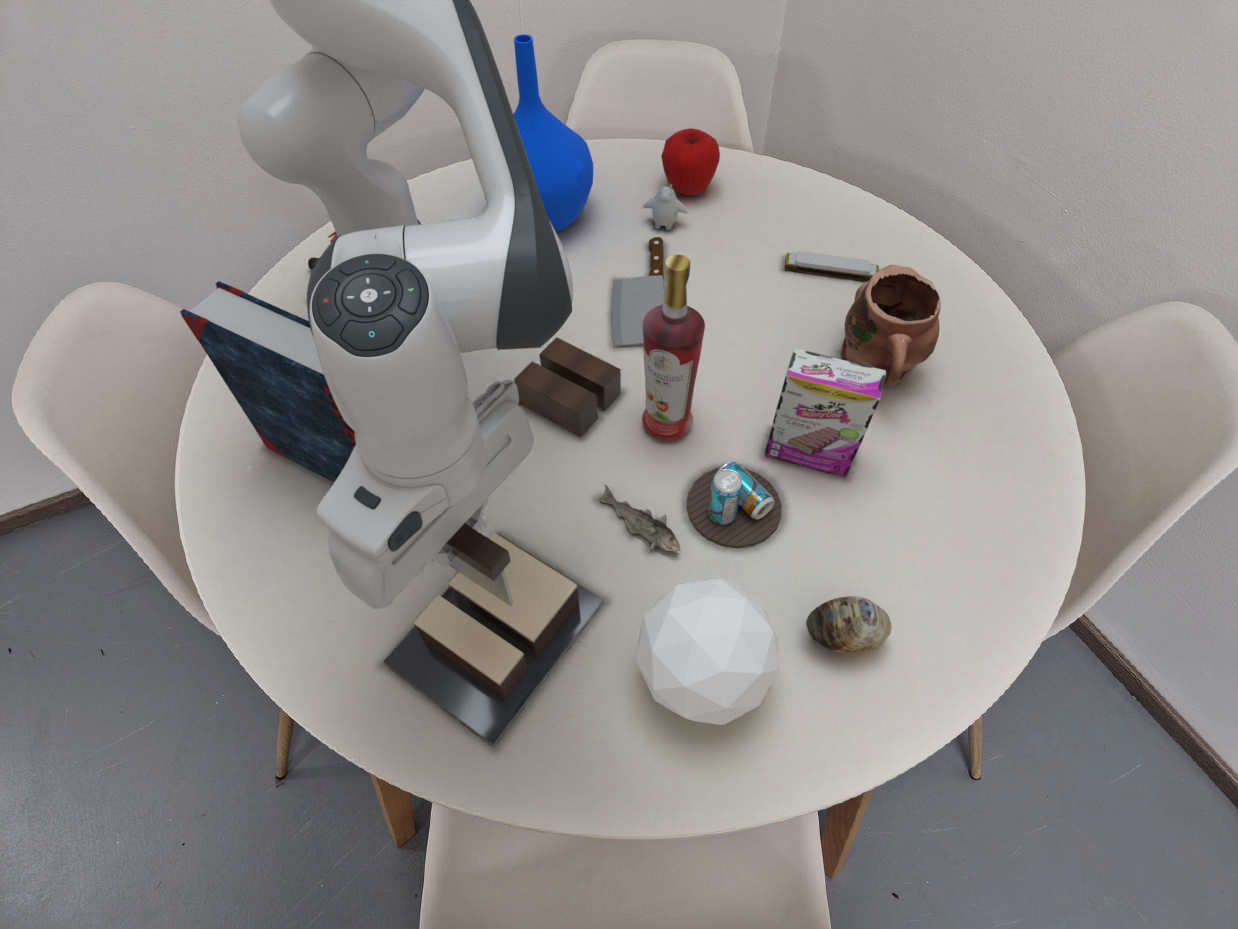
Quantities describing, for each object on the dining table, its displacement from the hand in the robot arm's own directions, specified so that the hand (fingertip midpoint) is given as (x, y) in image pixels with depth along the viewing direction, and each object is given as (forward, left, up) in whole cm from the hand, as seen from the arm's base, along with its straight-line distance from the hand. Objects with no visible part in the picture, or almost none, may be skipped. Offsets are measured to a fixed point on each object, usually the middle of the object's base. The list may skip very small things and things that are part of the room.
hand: (458, 542), depth 70 cm
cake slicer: (0, 0, -7) cm, 7 cm away
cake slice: (0, -3, -21) cm, 21 cm away
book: (-31, +8, -22) cm, 38 cm away
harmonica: (+5, +79, -22) cm, 82 cm away
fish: (+6, +22, -22) cm, 32 cm away
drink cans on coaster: (+14, +31, -22) cm, 40 cm away
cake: (0, +1, -22) cm, 22 cm away
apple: (-25, +84, -22) cm, 91 cm away
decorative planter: (+19, +63, -22) cm, 69 cm away
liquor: (0, +37, -22) cm, 43 cm away
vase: (-42, +64, -22) cm, 80 cm away
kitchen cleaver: (-17, +58, -22) cm, 64 cm away
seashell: (+33, +22, -22) cm, 45 cm away
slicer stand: (-14, +34, -22) cm, 42 cm away
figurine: (-24, +75, -22) cm, 81 cm away
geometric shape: (+22, +10, -22) cm, 33 cm away
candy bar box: (+18, +44, -22) cm, 52 cm away
